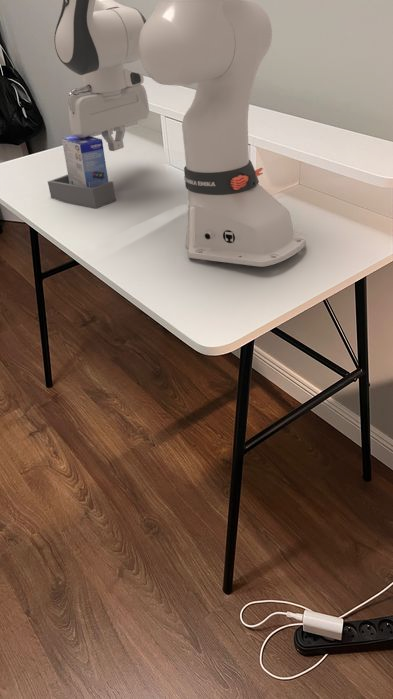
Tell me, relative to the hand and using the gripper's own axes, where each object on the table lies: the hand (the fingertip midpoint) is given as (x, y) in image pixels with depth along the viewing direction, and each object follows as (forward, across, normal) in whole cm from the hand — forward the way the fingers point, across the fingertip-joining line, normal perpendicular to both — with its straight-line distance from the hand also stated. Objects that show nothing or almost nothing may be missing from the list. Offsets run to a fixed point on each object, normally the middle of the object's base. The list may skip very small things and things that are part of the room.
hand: (116, 149), depth 136 cm
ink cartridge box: (+8, -8, +2) cm, 12 cm away
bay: (+8, -11, +1) cm, 14 cm away
